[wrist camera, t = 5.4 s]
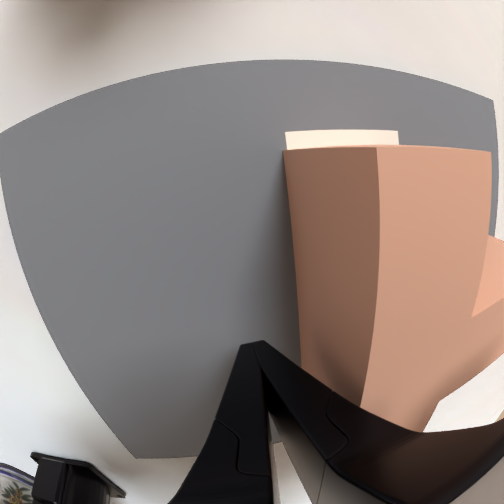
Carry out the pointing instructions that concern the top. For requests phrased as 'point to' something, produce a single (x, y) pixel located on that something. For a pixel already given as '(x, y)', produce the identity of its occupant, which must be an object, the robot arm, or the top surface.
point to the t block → (395, 273)
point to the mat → (194, 221)
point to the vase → (15, 485)
